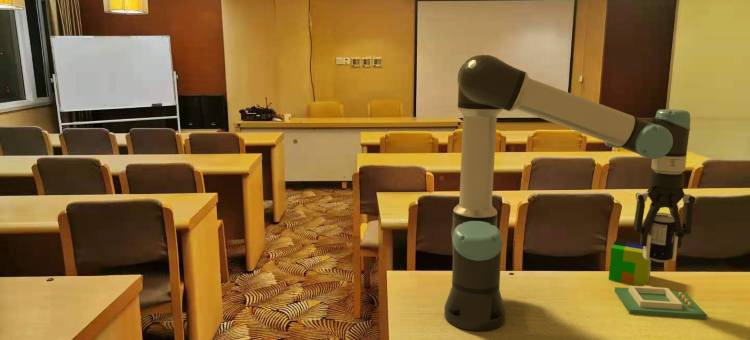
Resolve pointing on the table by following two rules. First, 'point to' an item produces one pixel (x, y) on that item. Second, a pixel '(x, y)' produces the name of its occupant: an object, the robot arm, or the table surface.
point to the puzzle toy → (629, 263)
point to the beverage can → (662, 237)
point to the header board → (658, 302)
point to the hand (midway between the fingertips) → (658, 258)
